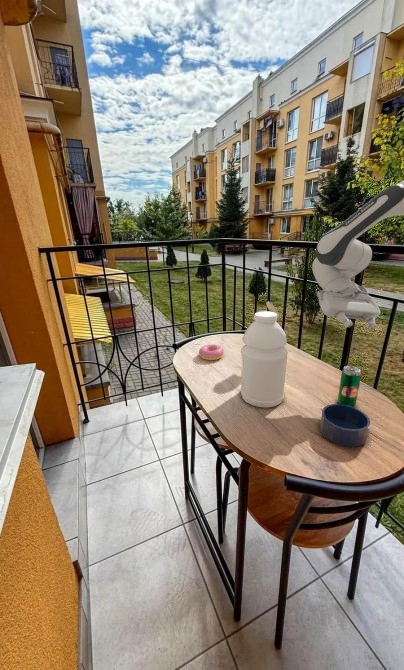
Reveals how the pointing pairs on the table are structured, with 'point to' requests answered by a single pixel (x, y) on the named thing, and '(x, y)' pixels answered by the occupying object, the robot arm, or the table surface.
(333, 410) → the bowl
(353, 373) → the soda can
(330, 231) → the robot arm
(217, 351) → the doughnut
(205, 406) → the table surface
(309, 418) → the table surface
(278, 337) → the bottle
